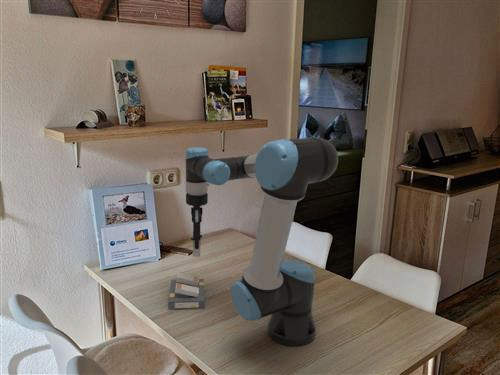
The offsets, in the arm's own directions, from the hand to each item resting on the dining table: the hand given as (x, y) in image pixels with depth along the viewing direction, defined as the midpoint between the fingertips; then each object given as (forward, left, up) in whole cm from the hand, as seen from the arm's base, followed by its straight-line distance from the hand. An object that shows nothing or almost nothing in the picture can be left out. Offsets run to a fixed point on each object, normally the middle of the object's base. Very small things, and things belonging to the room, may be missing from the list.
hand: (196, 255), depth 158 cm
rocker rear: (0, +3, -9) cm, 10 cm away
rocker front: (-8, +3, -9) cm, 12 cm away
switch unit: (-4, +3, -14) cm, 15 cm away
